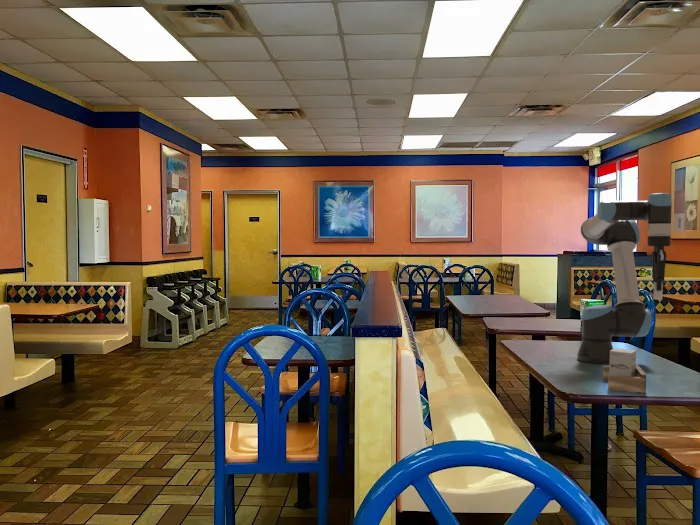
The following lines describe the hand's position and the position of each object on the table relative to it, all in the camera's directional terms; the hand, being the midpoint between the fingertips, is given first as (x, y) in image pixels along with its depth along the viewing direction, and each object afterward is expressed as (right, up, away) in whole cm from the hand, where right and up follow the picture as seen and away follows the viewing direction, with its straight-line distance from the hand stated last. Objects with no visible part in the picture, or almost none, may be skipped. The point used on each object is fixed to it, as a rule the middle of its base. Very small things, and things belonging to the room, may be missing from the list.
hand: (657, 299), depth 213 cm
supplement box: (-18, -30, -9) cm, 36 cm away
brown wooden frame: (-18, -30, -10) cm, 36 cm away
